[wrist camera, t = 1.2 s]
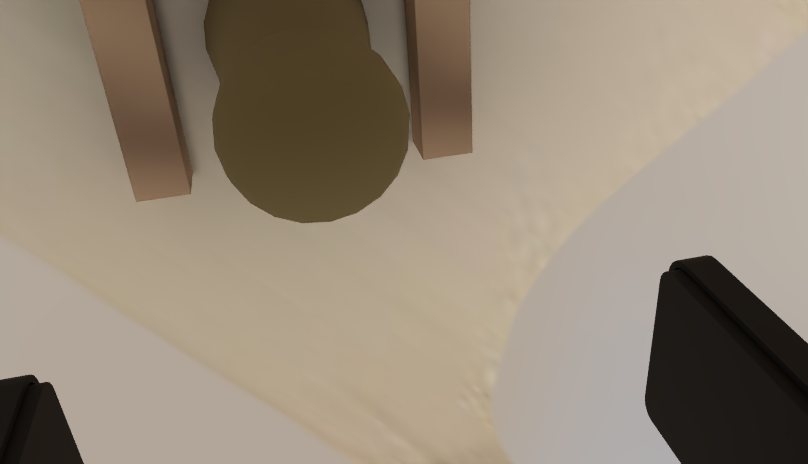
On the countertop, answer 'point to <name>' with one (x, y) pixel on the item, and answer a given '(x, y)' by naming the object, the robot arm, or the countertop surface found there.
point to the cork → (304, 106)
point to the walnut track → (157, 110)
